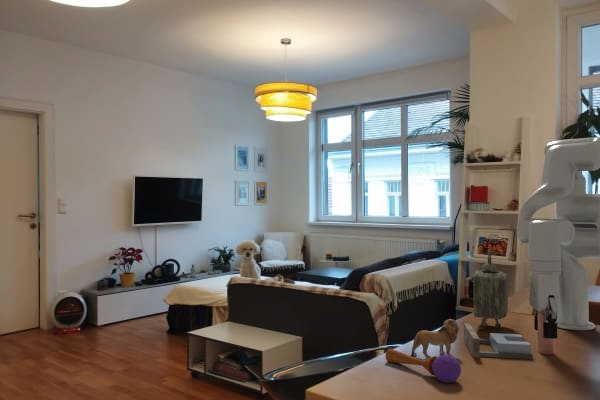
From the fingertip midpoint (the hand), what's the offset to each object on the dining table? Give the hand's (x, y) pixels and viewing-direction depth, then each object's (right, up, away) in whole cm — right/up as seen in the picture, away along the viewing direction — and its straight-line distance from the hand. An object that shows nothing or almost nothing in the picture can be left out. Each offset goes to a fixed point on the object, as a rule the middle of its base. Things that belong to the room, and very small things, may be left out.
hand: (545, 333), depth 124 cm
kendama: (-37, -5, -14) cm, 40 cm away
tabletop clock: (-4, -6, +26) cm, 27 cm away
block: (-9, -5, +2) cm, 10 cm away
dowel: (0, -5, 0) cm, 5 cm away
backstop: (-12, -5, +2) cm, 13 cm away
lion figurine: (-30, -5, -2) cm, 30 cm away
